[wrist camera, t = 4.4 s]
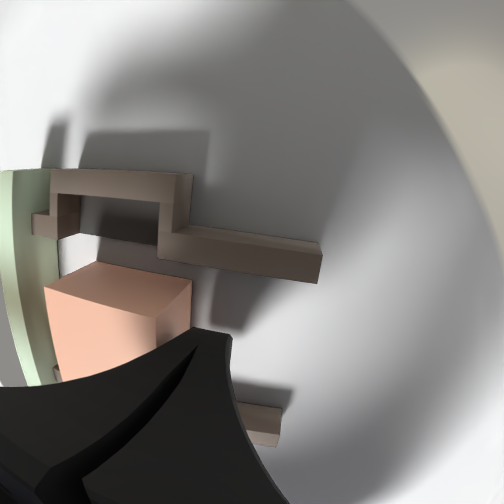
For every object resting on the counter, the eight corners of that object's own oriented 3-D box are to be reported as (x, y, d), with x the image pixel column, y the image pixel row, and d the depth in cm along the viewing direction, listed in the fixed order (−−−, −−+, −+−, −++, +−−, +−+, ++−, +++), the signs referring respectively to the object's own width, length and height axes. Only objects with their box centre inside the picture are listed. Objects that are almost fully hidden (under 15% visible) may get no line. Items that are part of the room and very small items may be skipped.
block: (188, 373, 11) (161, 424, 8) (103, 348, 11) (64, 387, 8) (192, 280, 10) (155, 318, 7) (95, 260, 10) (43, 286, 7)
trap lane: (272, 443, 11) (267, 486, 9) (62, 381, 13) (36, 406, 10) (325, 191, 9) (338, 196, 6) (40, 168, 10) (-4, 171, 7)
